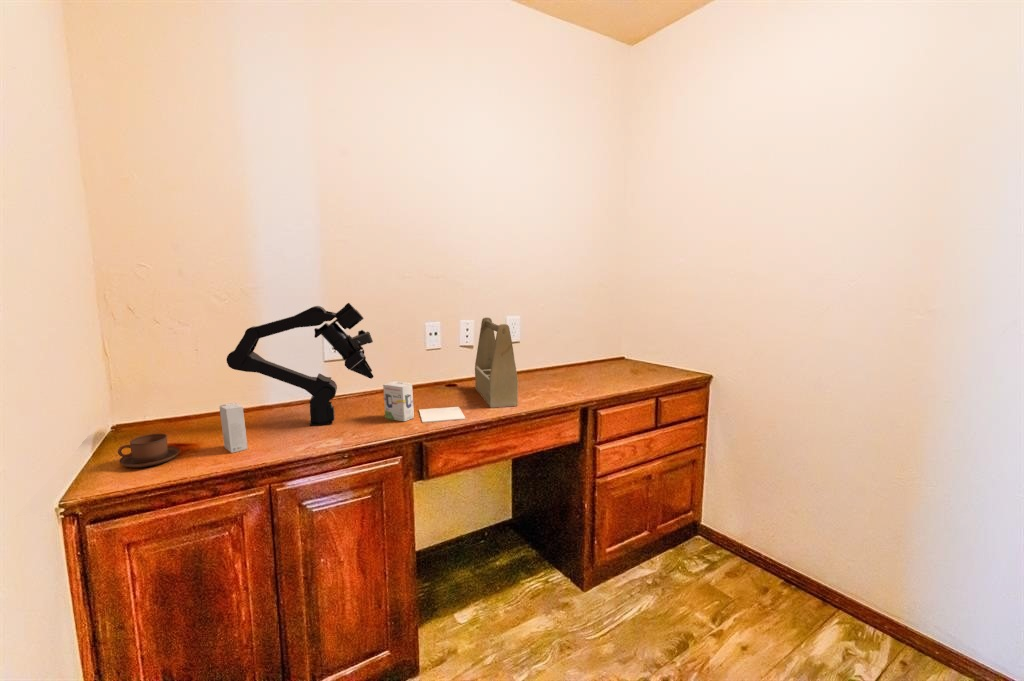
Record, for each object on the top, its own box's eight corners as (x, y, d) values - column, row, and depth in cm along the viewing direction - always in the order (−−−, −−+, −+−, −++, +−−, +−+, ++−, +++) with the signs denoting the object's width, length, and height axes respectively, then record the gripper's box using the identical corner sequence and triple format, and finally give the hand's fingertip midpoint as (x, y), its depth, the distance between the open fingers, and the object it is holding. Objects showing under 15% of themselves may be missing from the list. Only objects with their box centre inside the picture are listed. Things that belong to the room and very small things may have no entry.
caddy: (474, 389, 193) (473, 317, 189) (499, 387, 196) (499, 316, 191) (489, 408, 165) (489, 324, 161) (518, 406, 168) (519, 323, 163)
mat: (422, 422, 148) (422, 421, 148) (418, 410, 162) (418, 409, 162) (465, 419, 152) (465, 418, 152) (458, 407, 165) (458, 406, 165)
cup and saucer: (126, 476, 109) (123, 451, 108) (115, 462, 117) (112, 439, 116) (186, 461, 118) (183, 437, 117) (172, 449, 126) (170, 427, 125)
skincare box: (248, 449, 126) (244, 406, 124) (229, 454, 122) (226, 409, 121) (240, 443, 130) (237, 401, 128) (222, 448, 126) (218, 405, 125)
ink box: (414, 418, 153) (413, 383, 152) (404, 422, 149) (402, 386, 147) (394, 414, 157) (393, 380, 156) (383, 418, 153) (382, 383, 151)
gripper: (359, 325, 139) (393, 363, 144) (357, 319, 157) (388, 353, 162) (329, 350, 137) (365, 387, 142) (331, 341, 155) (363, 375, 160)
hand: (371, 374), depth 152 cm, fingers open, 9 cm apart
